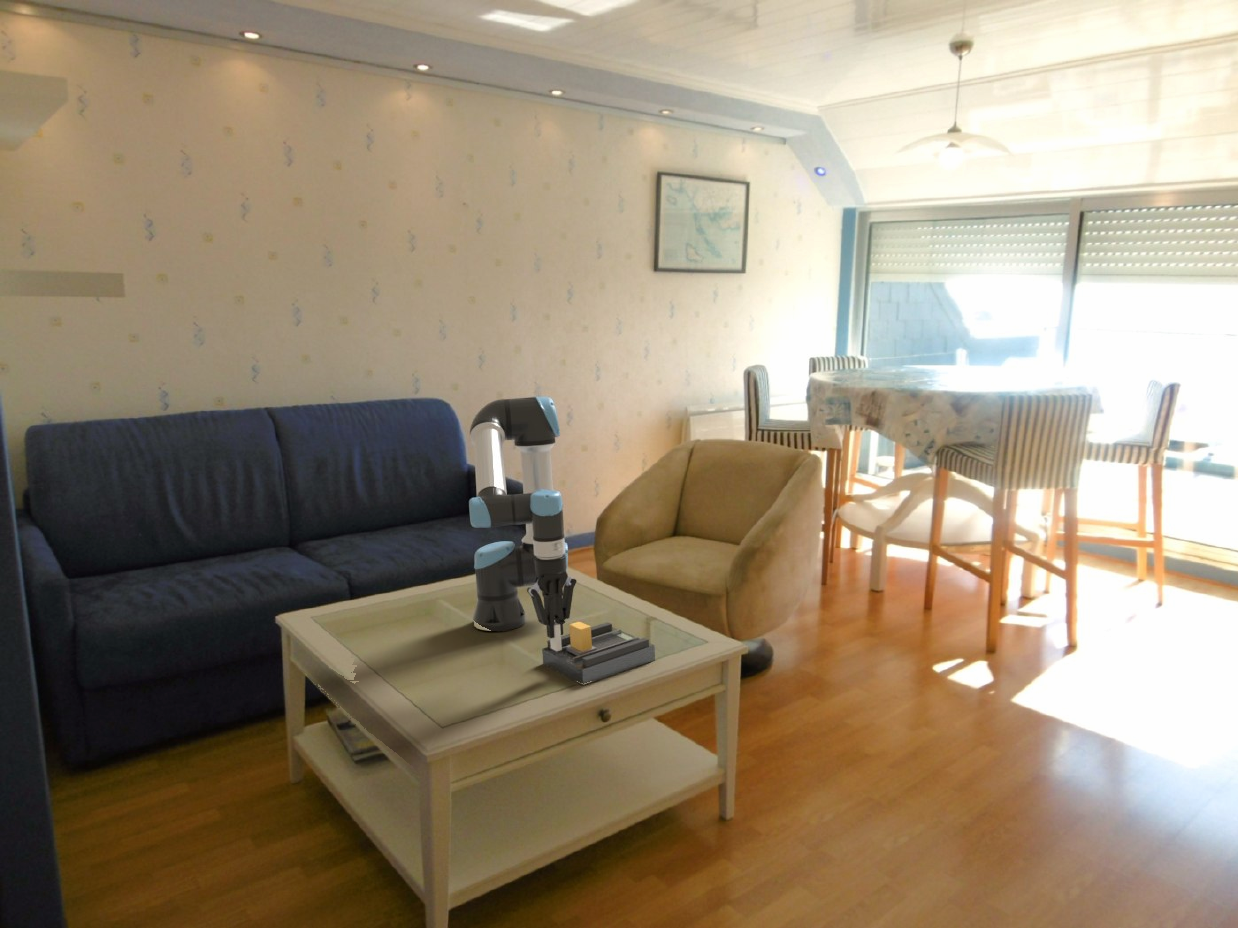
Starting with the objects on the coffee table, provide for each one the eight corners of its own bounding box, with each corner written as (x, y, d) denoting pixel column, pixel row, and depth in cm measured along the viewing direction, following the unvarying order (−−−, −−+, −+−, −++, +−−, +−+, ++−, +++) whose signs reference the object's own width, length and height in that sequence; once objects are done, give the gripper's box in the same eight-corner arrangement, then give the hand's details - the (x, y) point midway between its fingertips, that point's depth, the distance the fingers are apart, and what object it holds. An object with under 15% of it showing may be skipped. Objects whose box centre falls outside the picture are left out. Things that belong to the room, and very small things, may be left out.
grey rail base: (543, 663, 223) (541, 644, 222) (612, 641, 235) (611, 623, 235) (583, 685, 208) (582, 665, 207) (655, 660, 221) (654, 641, 220)
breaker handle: (566, 650, 219) (564, 624, 218) (583, 645, 222) (581, 619, 221) (580, 657, 214) (578, 631, 213) (596, 651, 217) (595, 625, 216)
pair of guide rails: (547, 647, 223) (547, 640, 222) (608, 628, 234) (607, 622, 233) (586, 667, 209) (586, 660, 208) (649, 646, 220) (648, 639, 220)
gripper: (534, 564, 203) (541, 660, 207) (581, 552, 210) (587, 646, 214) (518, 557, 209) (525, 651, 213) (564, 547, 216) (570, 638, 220)
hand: (556, 648), depth 214 cm, fingers closed
